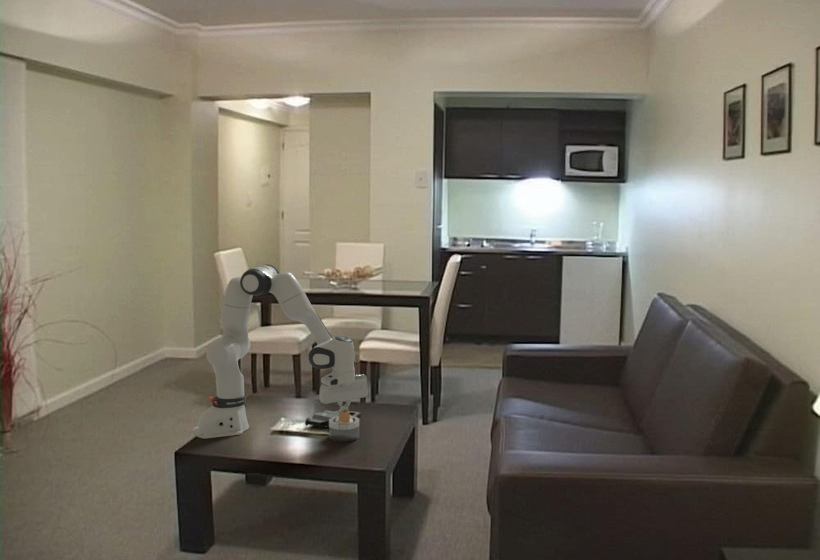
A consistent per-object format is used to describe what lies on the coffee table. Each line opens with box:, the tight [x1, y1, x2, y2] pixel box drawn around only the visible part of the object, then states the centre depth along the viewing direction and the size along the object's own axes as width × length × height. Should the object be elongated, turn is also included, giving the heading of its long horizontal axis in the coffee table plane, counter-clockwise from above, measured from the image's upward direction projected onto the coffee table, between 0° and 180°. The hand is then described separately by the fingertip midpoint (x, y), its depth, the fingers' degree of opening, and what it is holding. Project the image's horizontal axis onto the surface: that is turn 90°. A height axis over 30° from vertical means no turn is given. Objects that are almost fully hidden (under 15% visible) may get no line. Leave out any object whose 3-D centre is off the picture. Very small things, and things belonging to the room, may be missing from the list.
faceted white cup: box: [328, 416, 360, 443], centre depth 302 cm, size 12×12×7 cm
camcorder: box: [304, 410, 362, 428], centre depth 318 cm, size 16×20×5 cm
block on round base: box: [335, 409, 353, 424], centre depth 301 cm, size 7×7×6 cm
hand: (344, 410), depth 301 cm, fingers closed, pressing on block on round base
